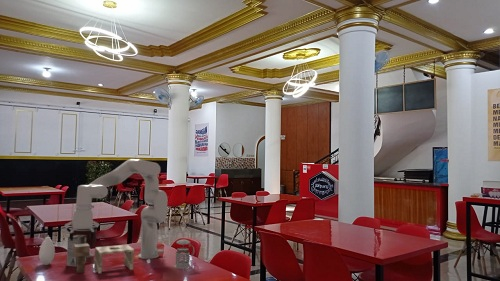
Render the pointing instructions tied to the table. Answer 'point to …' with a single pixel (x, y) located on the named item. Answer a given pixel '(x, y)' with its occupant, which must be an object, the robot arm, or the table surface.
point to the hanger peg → (81, 255)
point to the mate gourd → (87, 232)
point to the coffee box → (70, 256)
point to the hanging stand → (108, 249)
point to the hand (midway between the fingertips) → (81, 239)
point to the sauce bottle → (47, 251)
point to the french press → (183, 254)
